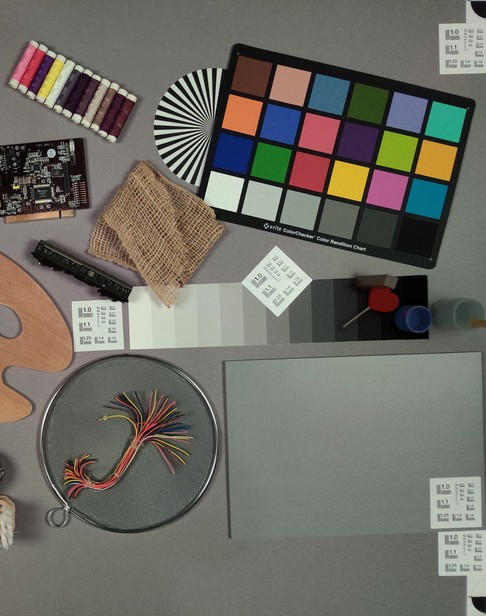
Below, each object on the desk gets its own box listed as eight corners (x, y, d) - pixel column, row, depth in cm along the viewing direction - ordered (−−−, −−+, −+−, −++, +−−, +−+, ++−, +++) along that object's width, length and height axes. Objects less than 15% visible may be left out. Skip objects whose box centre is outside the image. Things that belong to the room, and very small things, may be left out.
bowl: (423, 310, 144) (436, 311, 139) (414, 335, 144) (426, 336, 139) (399, 301, 144) (411, 301, 139) (390, 326, 144) (402, 327, 139)
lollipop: (351, 339, 144) (401, 303, 144) (353, 340, 143) (403, 303, 143) (332, 313, 143) (382, 277, 143) (334, 313, 143) (384, 276, 143)
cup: (424, 327, 144) (450, 329, 134) (428, 295, 144) (456, 295, 134) (455, 331, 144) (484, 334, 134) (459, 300, 144) (489, 300, 134)
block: (366, 279, 144) (398, 278, 130) (362, 289, 144) (394, 289, 130) (356, 276, 144) (387, 274, 130) (352, 286, 144) (383, 285, 130)
